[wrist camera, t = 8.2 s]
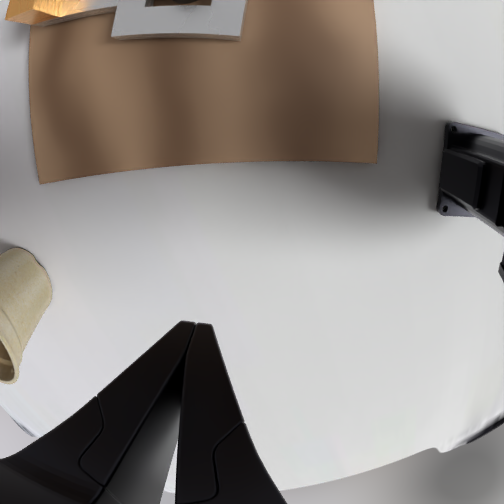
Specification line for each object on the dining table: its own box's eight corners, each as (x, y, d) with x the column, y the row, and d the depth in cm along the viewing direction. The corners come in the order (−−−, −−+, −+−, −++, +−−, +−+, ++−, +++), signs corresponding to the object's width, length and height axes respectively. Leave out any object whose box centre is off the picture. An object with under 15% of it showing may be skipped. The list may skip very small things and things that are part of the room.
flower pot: (-19, 244, 20) (-76, 291, 12) (34, 213, 19) (-40, 268, 11) (25, 323, 24) (-17, 381, 16) (85, 313, 23) (39, 387, 15)
